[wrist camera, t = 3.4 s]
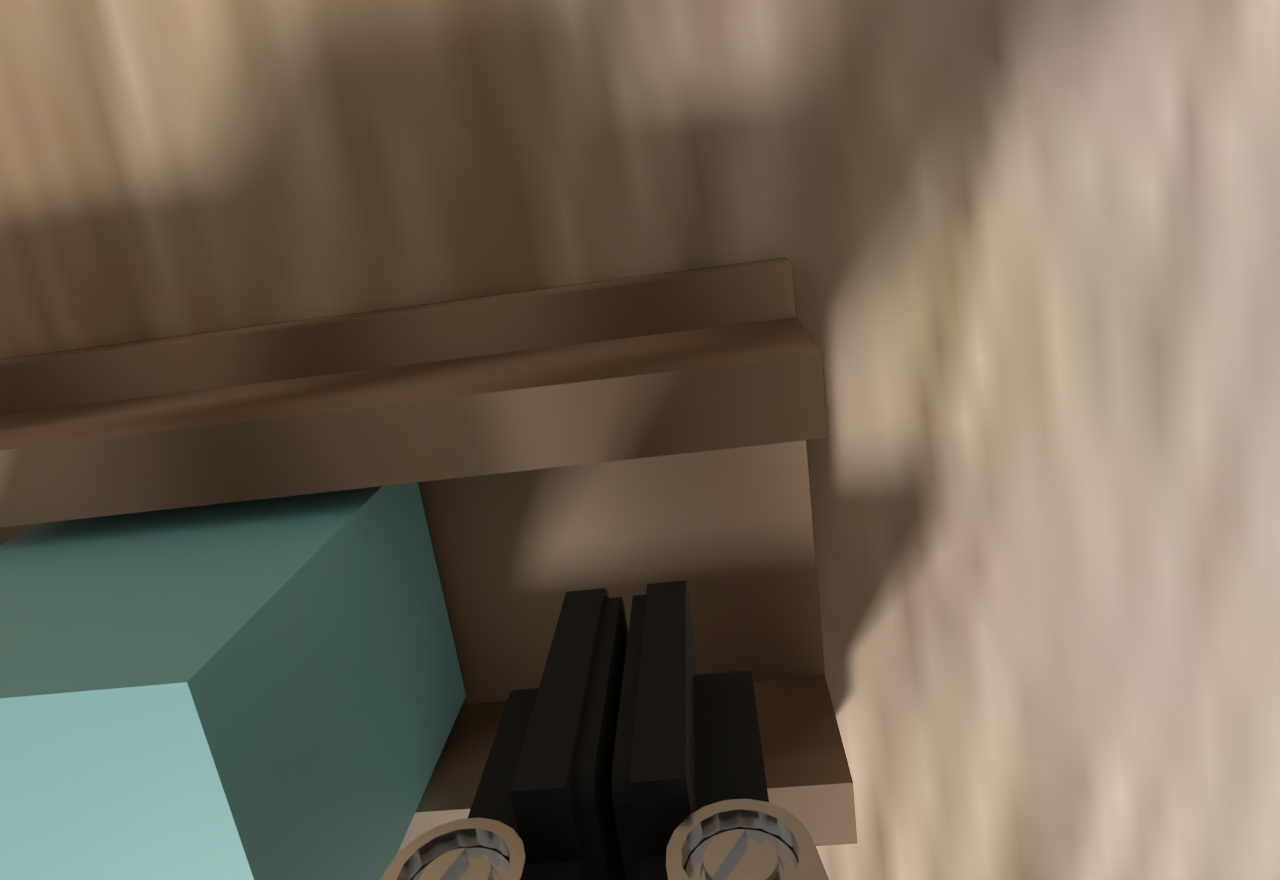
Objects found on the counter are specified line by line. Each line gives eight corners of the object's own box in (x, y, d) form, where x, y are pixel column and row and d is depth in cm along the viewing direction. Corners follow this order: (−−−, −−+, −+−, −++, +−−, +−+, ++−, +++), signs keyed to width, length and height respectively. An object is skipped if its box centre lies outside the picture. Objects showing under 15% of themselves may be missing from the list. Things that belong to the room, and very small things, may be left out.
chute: (785, 257, 15) (823, 291, 11) (824, 733, 18) (866, 912, 13) (-641, 442, 18) (-1064, 528, 13) (-406, 824, 21) (-692, 994, 16)
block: (411, 456, 15) (186, 682, 8) (466, 695, 16) (311, 1049, 10) (102, 491, 16) (-339, 727, 9) (180, 718, 17) (-148, 1068, 10)
